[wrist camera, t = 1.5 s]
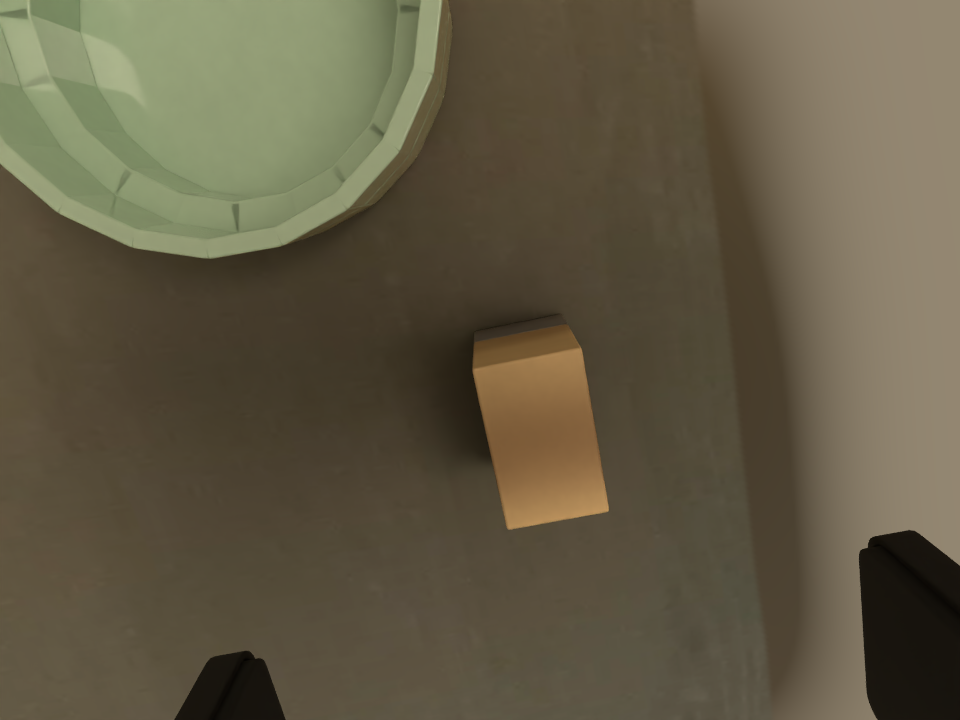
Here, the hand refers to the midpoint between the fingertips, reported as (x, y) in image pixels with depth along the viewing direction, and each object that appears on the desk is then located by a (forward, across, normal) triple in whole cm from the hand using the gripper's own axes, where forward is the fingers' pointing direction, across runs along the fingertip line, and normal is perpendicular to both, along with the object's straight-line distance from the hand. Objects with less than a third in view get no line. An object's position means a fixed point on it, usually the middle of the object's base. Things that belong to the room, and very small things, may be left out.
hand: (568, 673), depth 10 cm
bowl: (+13, +6, -13) cm, 19 cm away
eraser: (+13, 0, 0) cm, 13 cm away
